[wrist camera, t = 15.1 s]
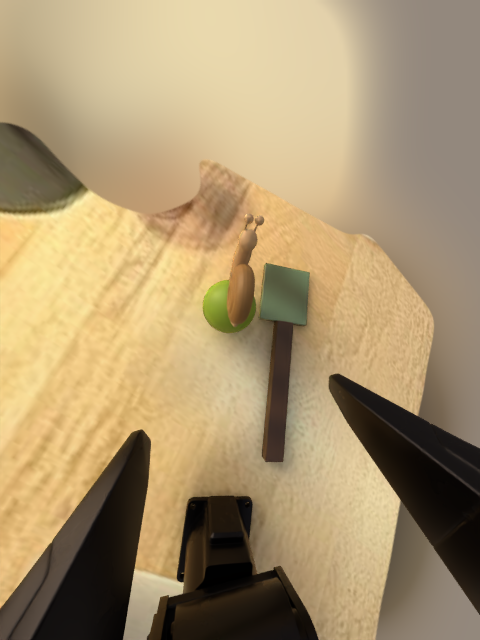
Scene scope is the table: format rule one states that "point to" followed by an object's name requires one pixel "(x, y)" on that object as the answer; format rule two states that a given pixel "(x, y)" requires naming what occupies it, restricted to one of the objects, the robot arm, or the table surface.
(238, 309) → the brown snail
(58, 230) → the table surface
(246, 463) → the table surface
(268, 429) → the spatula
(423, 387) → the table surface
